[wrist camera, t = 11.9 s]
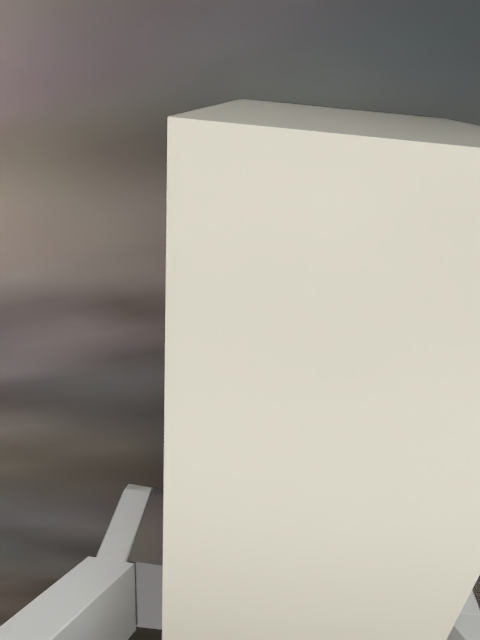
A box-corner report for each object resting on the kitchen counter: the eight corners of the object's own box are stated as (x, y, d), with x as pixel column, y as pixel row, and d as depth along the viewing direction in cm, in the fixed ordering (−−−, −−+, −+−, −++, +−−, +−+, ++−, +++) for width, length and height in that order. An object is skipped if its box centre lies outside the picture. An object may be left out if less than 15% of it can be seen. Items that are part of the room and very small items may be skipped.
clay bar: (241, 98, 7) (168, 116, 3) (443, 118, 7) (688, 167, 3) (199, 634, 14) (158, 881, 10) (303, 649, 14) (309, 909, 10)
